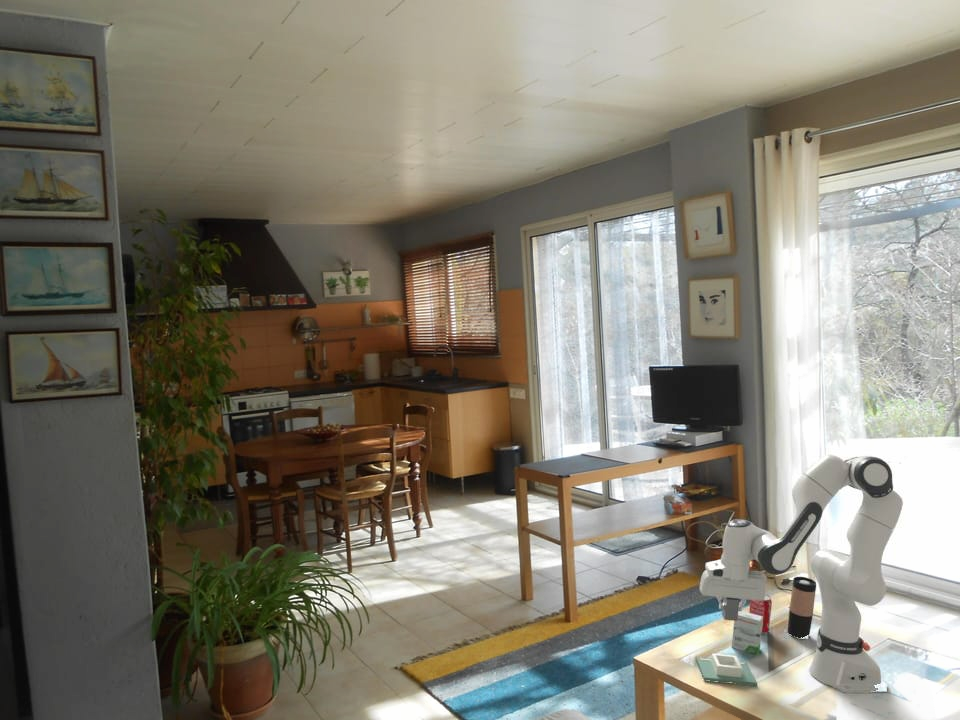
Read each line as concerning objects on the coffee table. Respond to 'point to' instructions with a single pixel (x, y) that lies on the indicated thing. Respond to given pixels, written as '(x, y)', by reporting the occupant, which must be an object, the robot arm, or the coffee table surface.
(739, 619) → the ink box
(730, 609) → the plug
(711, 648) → the coffee table surface
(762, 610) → the soda can
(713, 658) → the header board
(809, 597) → the travel mug
